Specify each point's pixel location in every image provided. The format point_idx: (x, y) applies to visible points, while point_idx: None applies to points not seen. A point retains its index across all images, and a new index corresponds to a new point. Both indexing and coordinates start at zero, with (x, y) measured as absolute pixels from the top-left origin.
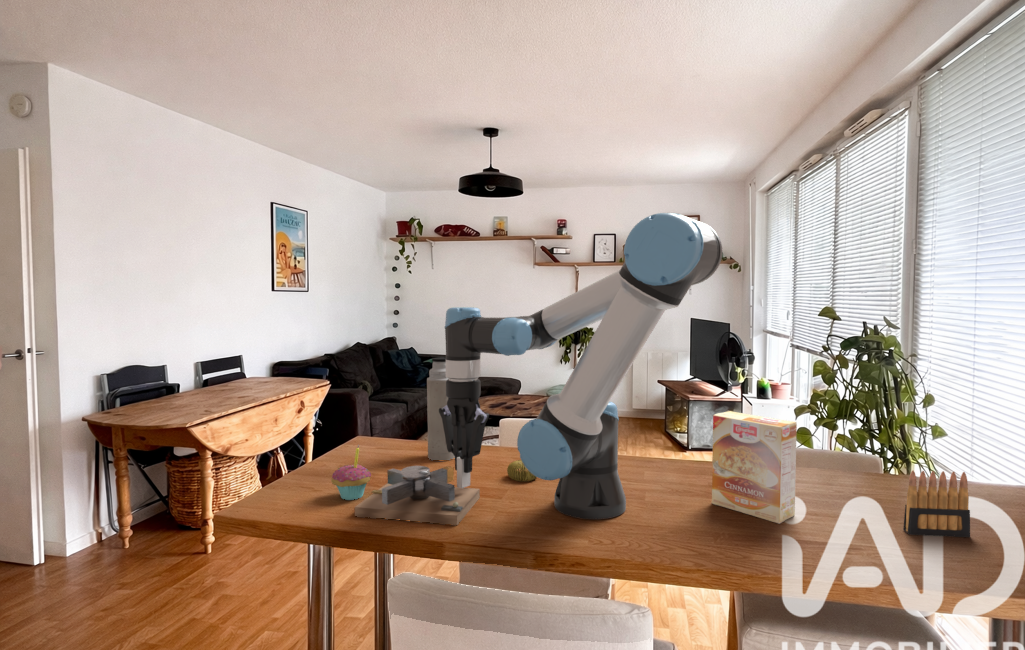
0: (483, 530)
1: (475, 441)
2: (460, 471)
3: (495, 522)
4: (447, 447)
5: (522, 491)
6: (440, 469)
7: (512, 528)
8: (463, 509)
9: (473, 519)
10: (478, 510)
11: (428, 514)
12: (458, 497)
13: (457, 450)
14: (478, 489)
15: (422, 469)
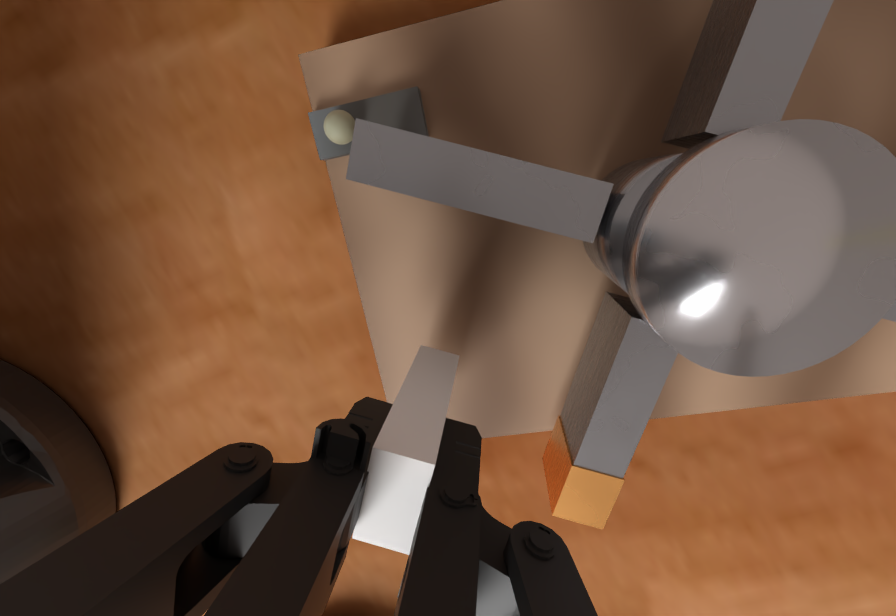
0: (184, 73)
1: (27, 572)
2: (413, 393)
3: (192, 185)
4: (570, 569)
5: None
6: (619, 451)
7: (95, 153)
8: (332, 176)
9: (295, 177)
10: (333, 286)
11: (464, 12)
12: (433, 304)
13: (419, 520)
14: None
15: (711, 291)
